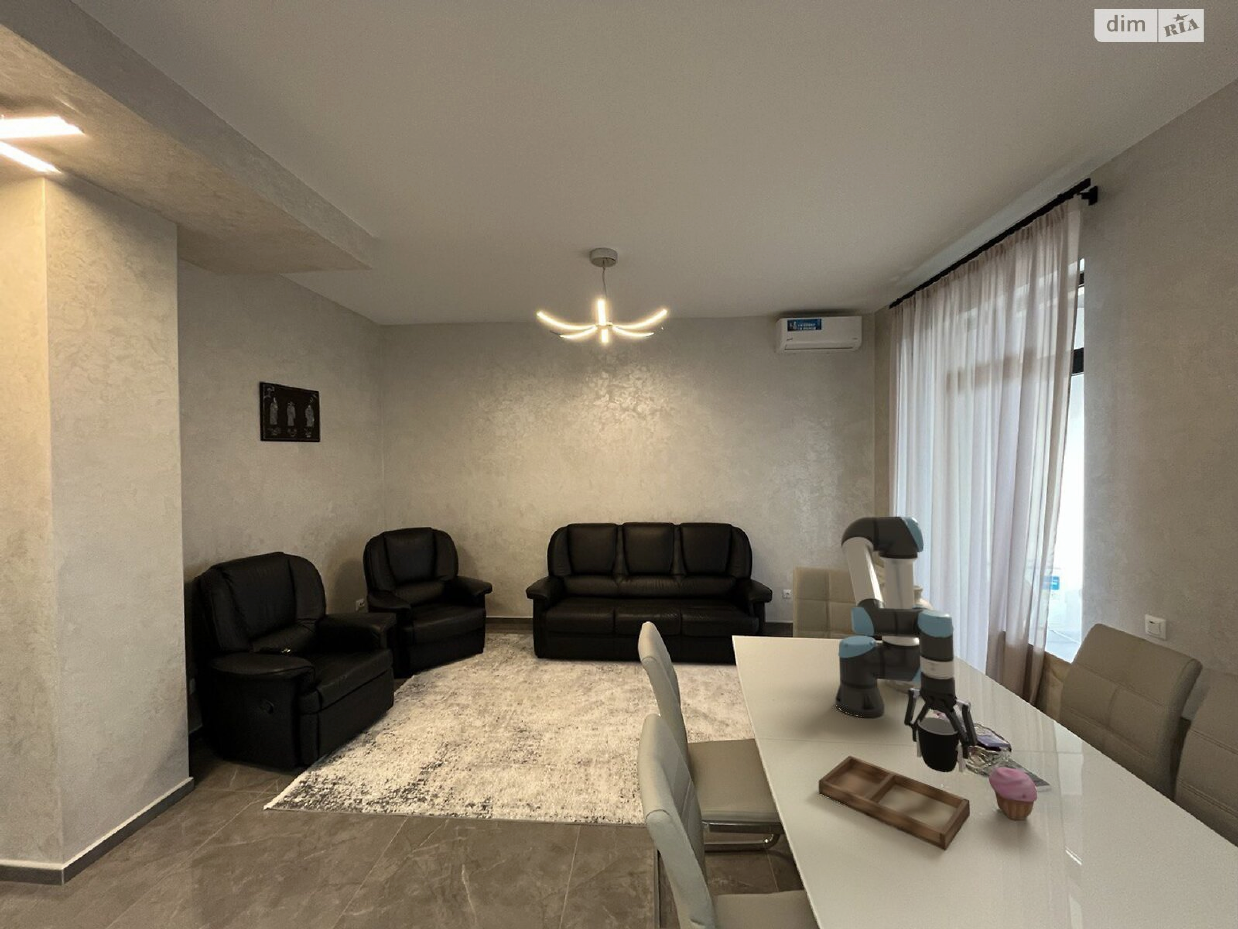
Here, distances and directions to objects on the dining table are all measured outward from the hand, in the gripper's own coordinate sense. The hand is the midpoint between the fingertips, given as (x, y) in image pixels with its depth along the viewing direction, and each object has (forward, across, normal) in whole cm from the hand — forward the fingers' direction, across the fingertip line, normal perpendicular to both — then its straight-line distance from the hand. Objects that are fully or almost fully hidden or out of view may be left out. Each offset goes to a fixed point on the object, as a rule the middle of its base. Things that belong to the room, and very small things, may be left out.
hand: (940, 762), depth 134 cm
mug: (+1, -1, 0) cm, 1 cm away
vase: (+8, -28, +61) cm, 68 cm away
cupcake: (+5, +15, -2) cm, 16 cm away
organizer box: (+5, -6, -17) cm, 19 cm away
